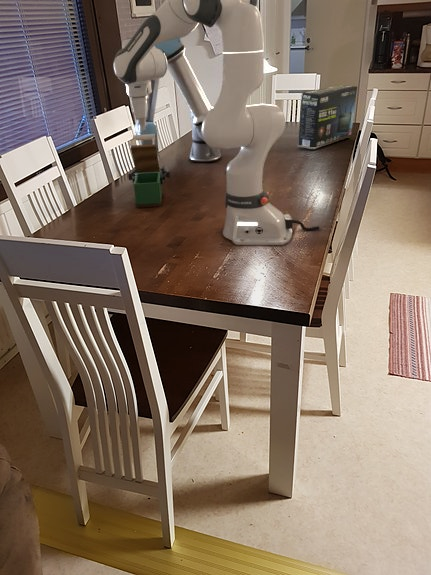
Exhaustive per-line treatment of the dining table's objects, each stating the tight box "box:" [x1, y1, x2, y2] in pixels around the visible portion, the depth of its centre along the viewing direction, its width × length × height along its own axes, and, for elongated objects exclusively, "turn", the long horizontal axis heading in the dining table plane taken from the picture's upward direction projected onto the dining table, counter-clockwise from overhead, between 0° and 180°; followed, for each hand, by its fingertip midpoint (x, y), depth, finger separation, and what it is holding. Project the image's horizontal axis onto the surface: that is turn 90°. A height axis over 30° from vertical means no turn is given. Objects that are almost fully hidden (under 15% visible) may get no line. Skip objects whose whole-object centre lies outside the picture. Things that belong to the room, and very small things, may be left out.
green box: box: [133, 172, 163, 209], centre depth 177 cm, size 14×9×9 cm
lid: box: [130, 134, 161, 173], centre depth 175 cm, size 14×9×8 cm
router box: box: [297, 84, 358, 151], centre depth 238 cm, size 36×11×27 cm, turn 134°
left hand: (148, 181), depth 178 cm, fingers closed on green box, 9 cm apart
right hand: (143, 128), depth 171 cm, fingers open, 5 cm apart
